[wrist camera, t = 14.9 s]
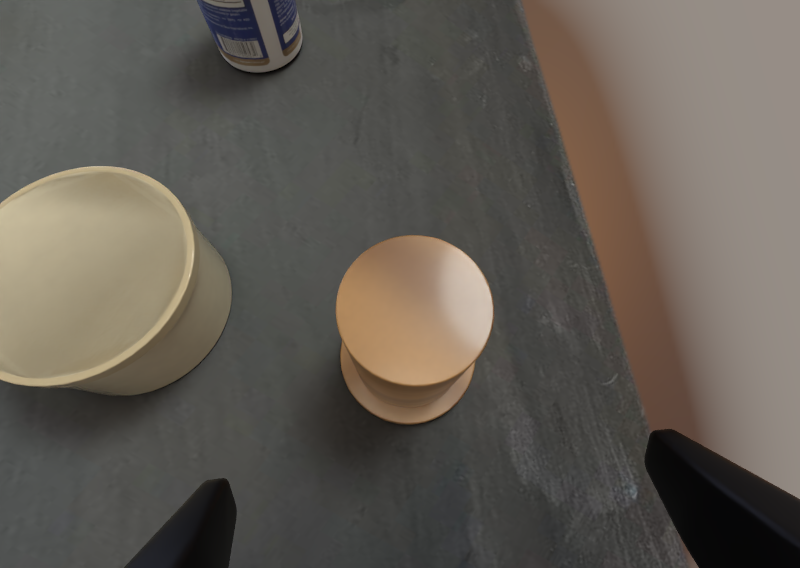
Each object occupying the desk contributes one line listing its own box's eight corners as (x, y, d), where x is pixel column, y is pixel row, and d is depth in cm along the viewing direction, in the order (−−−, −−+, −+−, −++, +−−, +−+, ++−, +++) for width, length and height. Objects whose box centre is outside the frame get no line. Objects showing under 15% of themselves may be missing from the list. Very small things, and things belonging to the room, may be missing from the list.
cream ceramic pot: (177, 429, 20) (111, 424, 15) (3, 361, 21) (-111, 336, 16) (267, 252, 23) (235, 203, 18) (111, 200, 24) (43, 140, 19)
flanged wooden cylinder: (432, 452, 20) (456, 455, 12) (315, 378, 21) (271, 339, 13) (495, 334, 22) (550, 274, 14) (385, 271, 23) (382, 185, 15)
